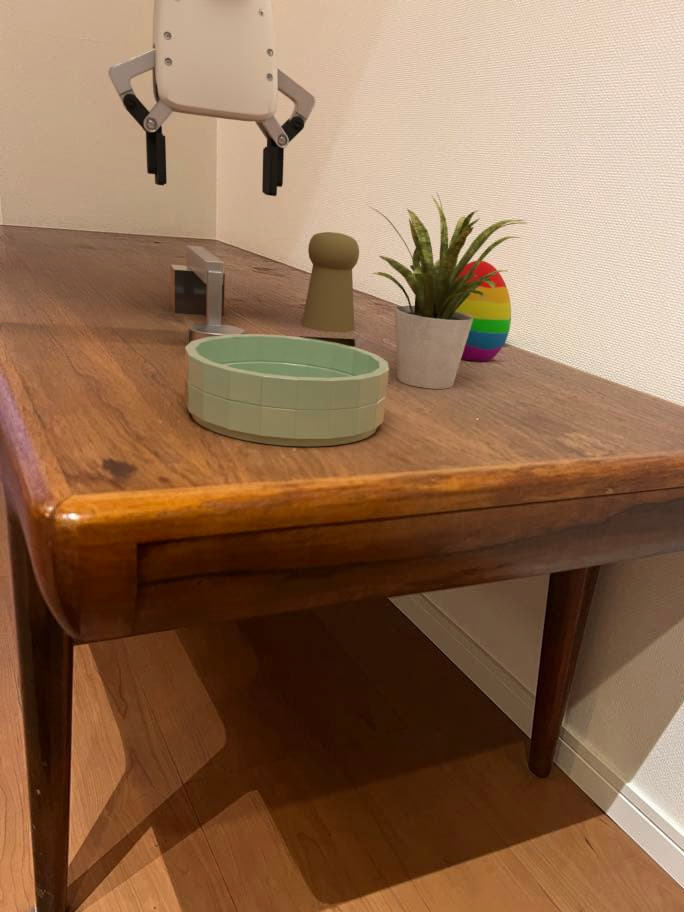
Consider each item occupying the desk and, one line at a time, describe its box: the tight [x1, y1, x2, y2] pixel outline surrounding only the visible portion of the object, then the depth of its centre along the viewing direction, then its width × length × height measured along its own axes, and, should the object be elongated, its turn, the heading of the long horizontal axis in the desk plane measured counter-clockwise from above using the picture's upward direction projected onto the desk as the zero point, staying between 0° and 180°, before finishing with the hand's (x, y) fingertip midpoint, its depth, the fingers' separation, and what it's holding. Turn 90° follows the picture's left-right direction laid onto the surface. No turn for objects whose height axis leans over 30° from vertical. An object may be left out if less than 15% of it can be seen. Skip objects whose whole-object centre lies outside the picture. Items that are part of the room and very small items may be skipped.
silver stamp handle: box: [186, 245, 246, 345], centre depth 76 cm, size 18×5×8 cm, turn 21°
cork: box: [298, 231, 360, 347], centre depth 82 cm, size 6×6×11 cm
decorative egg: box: [455, 260, 512, 362], centre depth 84 cm, size 8×8×10 cm
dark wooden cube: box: [169, 264, 226, 317], centre depth 82 cm, size 5×4×6 cm
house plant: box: [367, 193, 526, 390], centre depth 69 cm, size 14×14×16 cm
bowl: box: [184, 333, 390, 447], centre depth 56 cm, size 14×14×4 cm
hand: (216, 189), depth 70 cm, fingers open, 9 cm apart
